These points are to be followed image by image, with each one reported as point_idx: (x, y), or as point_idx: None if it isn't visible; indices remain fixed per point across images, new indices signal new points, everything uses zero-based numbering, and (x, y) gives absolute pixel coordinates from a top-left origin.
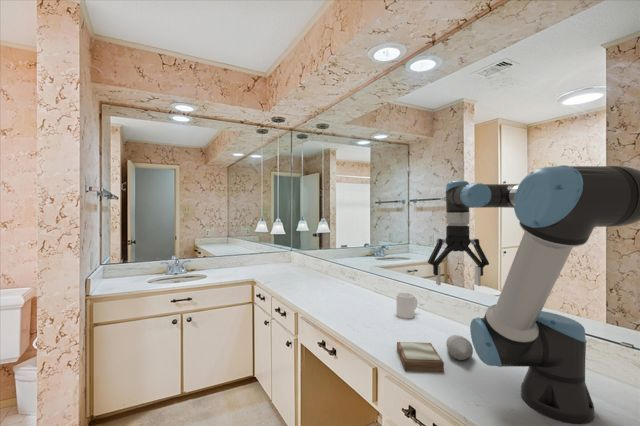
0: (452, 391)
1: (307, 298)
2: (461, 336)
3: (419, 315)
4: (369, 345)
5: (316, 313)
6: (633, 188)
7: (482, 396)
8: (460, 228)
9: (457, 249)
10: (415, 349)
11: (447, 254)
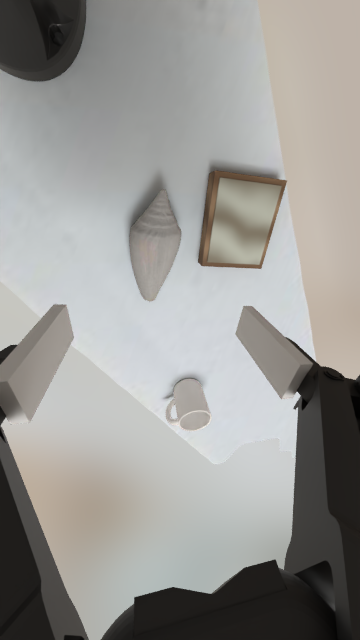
0: (227, 81)
1: None
2: (150, 247)
3: (163, 392)
4: (288, 280)
5: None
6: None
7: (175, 47)
8: None
9: (250, 631)
10: (245, 231)
11: (329, 479)
